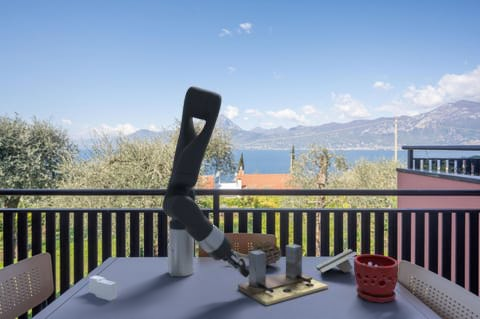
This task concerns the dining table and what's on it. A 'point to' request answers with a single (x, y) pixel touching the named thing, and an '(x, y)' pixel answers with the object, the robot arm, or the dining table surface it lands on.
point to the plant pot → (376, 277)
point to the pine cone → (270, 249)
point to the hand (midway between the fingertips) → (246, 274)
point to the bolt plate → (289, 292)
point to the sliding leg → (258, 270)
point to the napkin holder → (103, 288)
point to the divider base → (289, 278)
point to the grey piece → (338, 262)
